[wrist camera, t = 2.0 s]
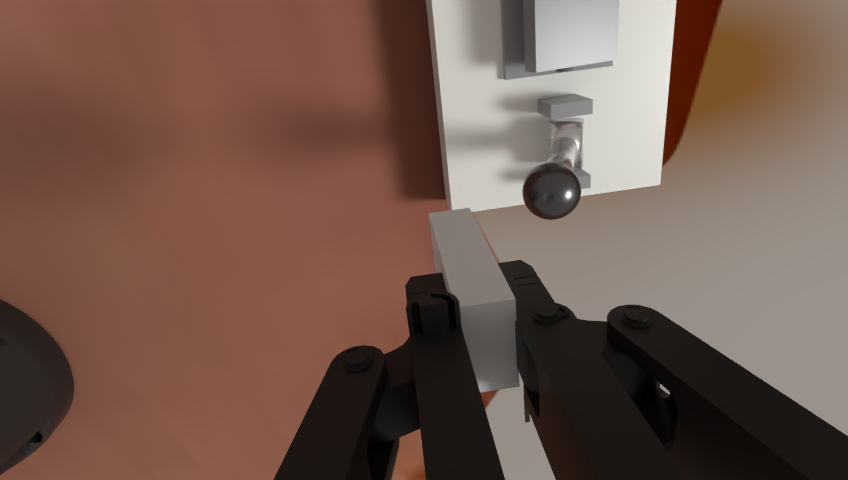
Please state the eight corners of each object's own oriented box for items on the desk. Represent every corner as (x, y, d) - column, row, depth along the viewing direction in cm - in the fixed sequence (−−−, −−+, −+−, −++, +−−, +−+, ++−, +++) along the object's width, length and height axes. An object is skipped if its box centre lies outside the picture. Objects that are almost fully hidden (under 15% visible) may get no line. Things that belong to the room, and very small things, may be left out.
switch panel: (445, 199, 35) (458, 228, 30) (405, -195, 26) (414, -248, 21) (637, 172, 35) (681, 196, 30) (664, -222, 26) (732, -280, 21)
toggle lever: (545, 162, 31) (518, 229, 22) (545, 118, 30) (516, 170, 21) (589, 162, 30) (579, 231, 21) (590, 116, 29) (580, 169, 20)
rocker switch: (521, 76, 27) (536, 78, 26) (517, -37, 25) (534, -42, 24) (597, 64, 29) (616, 65, 27) (601, -46, 26) (621, -51, 25)
